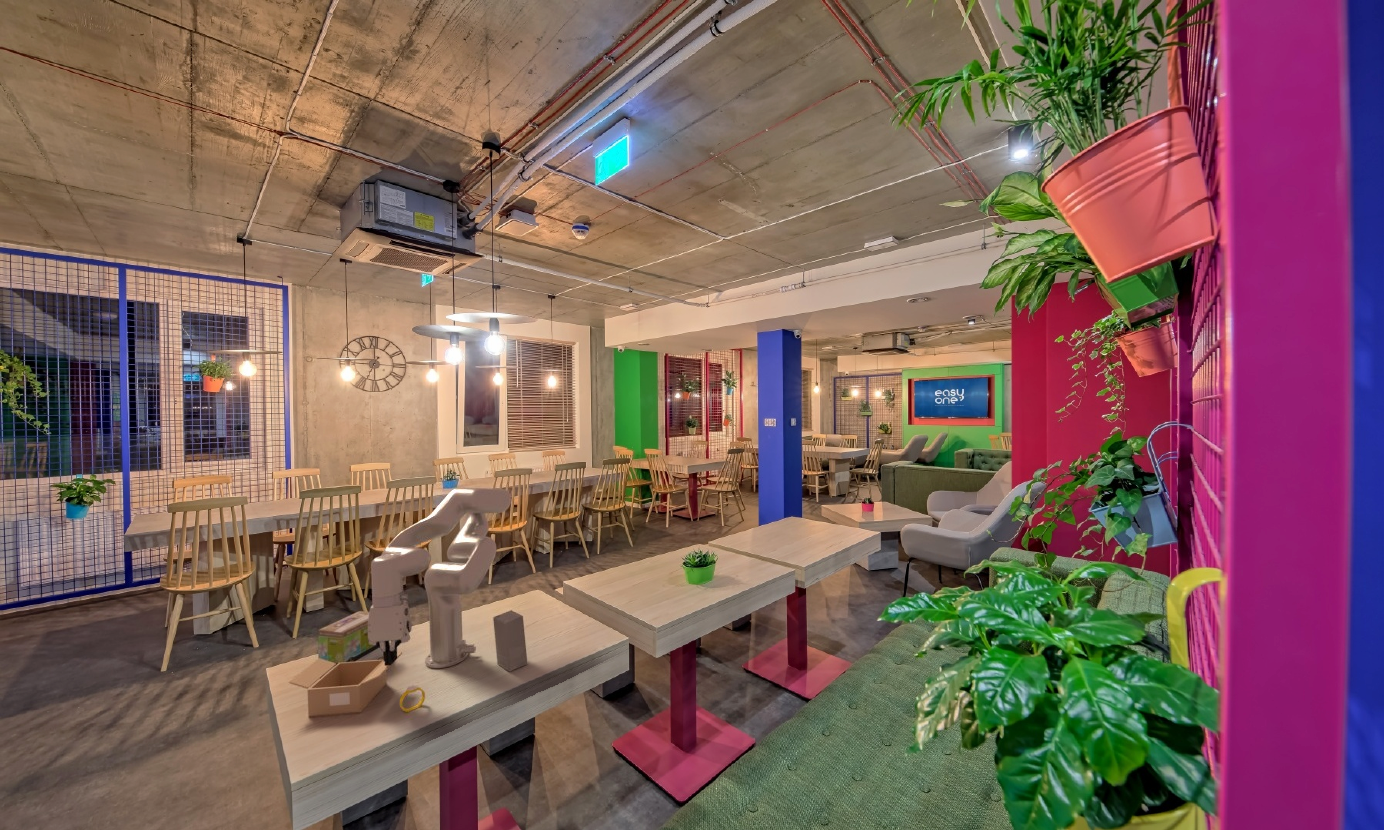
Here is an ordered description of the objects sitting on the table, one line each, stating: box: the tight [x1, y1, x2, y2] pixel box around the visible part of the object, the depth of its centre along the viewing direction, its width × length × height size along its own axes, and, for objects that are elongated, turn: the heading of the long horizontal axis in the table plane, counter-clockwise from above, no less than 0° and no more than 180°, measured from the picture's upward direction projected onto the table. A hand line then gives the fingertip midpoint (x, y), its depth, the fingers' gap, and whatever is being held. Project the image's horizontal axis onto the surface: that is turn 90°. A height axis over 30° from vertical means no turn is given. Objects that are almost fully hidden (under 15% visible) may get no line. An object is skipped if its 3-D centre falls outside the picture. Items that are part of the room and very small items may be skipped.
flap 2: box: [362, 652, 403, 684], centre depth 140 cm, size 5×12×1 cm, turn 6°
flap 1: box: [288, 658, 336, 690], centre depth 138 cm, size 5×12×1 cm, turn 6°
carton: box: [307, 659, 387, 718], centre depth 139 cm, size 13×14×8 cm
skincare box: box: [492, 610, 528, 672], centre depth 157 cm, size 8×7×16 cm
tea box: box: [317, 610, 383, 678], centre depth 158 cm, size 15×10×15 cm, turn 168°
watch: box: [399, 684, 426, 713], centre depth 135 cm, size 6×3×6 cm, turn 136°
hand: (390, 662), depth 141 cm, fingers closed
